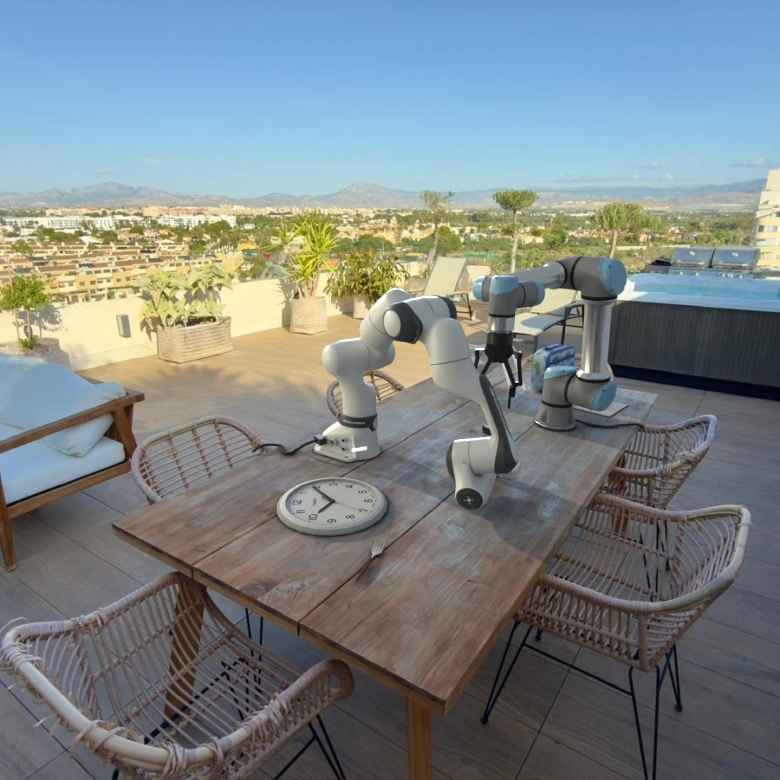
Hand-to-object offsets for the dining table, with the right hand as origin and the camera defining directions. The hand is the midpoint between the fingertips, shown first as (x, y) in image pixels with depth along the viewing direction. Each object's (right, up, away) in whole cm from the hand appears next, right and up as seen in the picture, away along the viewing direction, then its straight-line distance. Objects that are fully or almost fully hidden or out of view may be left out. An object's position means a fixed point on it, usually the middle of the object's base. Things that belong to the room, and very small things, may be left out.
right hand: (494, 406), depth 156 cm
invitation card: (+60, -3, +70) cm, 92 cm away
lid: (0, -6, +2) cm, 7 cm away
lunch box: (+46, +5, +95) cm, 105 cm away
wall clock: (-47, -27, -13) cm, 56 cm away
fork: (-36, -35, -38) cm, 62 cm away
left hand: (-1, -15, +4) cm, 16 cm away
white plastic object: (+10, +4, +87) cm, 88 cm away
